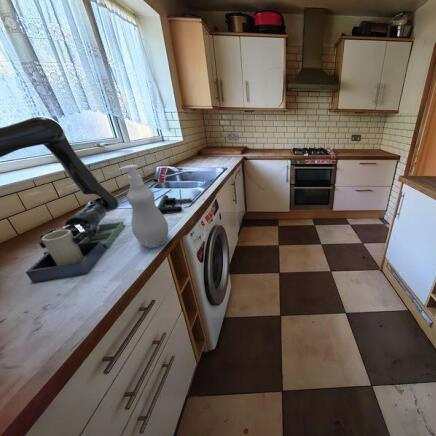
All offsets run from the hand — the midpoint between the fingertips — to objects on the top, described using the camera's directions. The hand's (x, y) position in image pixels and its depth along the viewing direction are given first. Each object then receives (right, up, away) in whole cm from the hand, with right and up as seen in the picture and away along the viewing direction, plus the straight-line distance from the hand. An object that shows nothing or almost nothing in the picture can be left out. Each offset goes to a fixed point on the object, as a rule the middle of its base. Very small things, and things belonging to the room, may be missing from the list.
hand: (59, 243), depth 71 cm
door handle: (+11, +14, +49) cm, 52 cm away
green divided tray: (-7, 0, +18) cm, 20 cm away
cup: (0, -7, +4) cm, 8 cm away
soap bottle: (+20, -1, +17) cm, 26 cm away
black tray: (0, -7, +4) cm, 9 cm away
